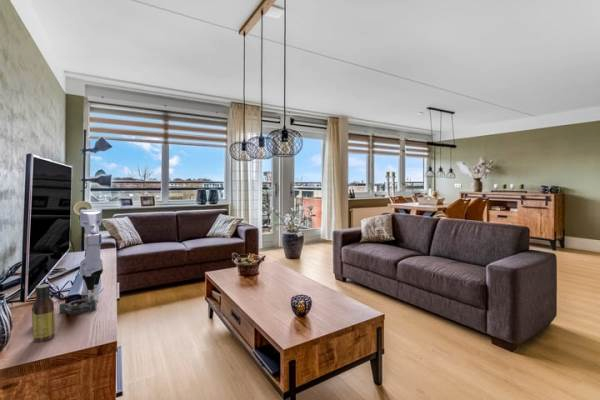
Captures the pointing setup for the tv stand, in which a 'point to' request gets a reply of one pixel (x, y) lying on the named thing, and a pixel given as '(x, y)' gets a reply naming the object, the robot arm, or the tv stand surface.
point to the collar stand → (78, 307)
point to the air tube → (93, 294)
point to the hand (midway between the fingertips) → (93, 287)
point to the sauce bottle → (43, 314)
